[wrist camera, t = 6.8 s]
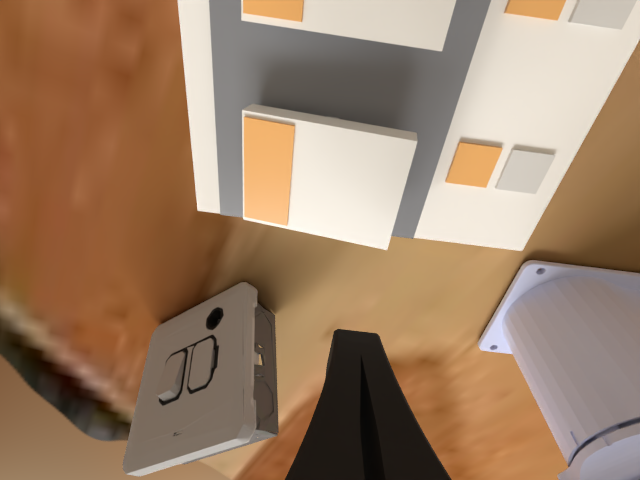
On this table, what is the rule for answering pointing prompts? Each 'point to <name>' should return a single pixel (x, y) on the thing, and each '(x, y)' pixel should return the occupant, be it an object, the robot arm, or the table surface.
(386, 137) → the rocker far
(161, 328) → the electrical switch
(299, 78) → the switch unit
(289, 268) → the table surface
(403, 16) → the rocker near
